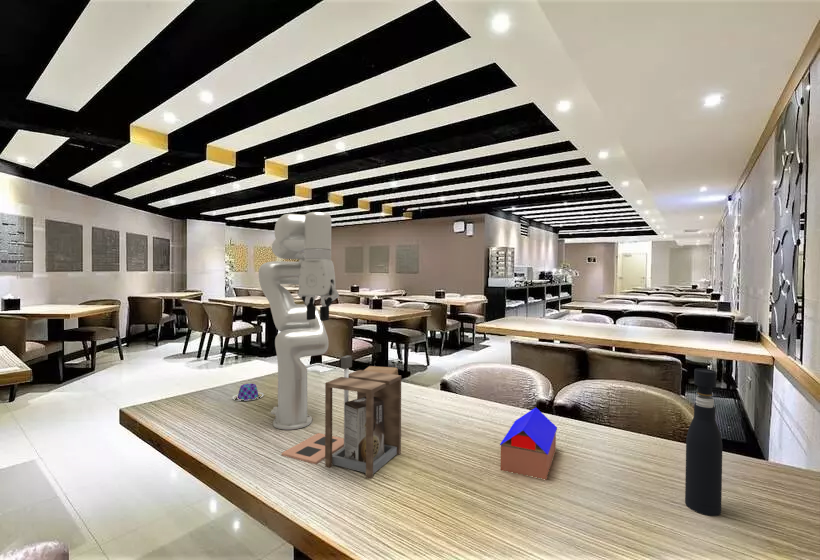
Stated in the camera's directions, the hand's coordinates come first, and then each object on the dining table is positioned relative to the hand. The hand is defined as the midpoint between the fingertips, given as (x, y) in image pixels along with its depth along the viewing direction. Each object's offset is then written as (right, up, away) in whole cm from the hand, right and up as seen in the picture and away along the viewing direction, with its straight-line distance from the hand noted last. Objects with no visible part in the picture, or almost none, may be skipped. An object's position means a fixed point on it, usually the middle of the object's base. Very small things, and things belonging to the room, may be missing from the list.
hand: (317, 319), depth 117 cm
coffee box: (+14, -38, -6) cm, 41 cm away
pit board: (0, -37, +1) cm, 37 cm away
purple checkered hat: (-39, -37, +48) cm, 72 cm away
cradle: (+14, -38, -6) cm, 41 cm away
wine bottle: (+90, -39, -28) cm, 102 cm away
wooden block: (+17, -38, +12) cm, 43 cm away
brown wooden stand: (+14, -38, -6) cm, 41 cm away
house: (+59, -38, -5) cm, 71 cm away
